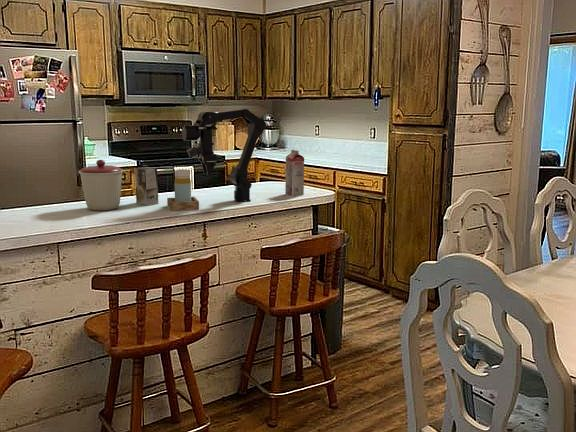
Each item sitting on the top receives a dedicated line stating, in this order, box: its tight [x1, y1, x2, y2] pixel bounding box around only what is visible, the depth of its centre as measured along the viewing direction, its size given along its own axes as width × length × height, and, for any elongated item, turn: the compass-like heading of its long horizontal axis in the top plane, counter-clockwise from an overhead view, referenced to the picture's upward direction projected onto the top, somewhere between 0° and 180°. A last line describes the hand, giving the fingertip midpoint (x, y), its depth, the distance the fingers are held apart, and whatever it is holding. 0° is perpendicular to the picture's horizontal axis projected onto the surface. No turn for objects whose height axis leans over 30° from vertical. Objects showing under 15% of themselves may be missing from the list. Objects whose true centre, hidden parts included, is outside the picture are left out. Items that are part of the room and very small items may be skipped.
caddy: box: [166, 196, 200, 212], centre depth 245 cm, size 12×12×4 cm
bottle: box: [173, 169, 192, 202], centre depth 244 cm, size 7×7×15 cm
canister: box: [78, 159, 124, 212], centre depth 239 cm, size 18×18×21 cm
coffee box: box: [133, 166, 159, 206], centre depth 252 cm, size 9×6×16 cm
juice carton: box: [284, 149, 305, 197], centre depth 278 cm, size 7×7×22 cm
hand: (207, 175), depth 252 cm, fingers open, 9 cm apart
